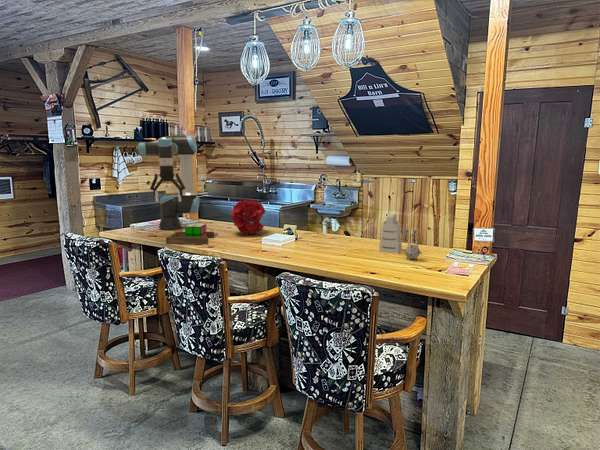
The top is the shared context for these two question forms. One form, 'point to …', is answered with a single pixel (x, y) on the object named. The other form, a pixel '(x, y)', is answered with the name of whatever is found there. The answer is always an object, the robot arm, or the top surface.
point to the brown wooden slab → (187, 238)
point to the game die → (412, 251)
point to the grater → (390, 235)
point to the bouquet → (248, 216)
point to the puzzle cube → (195, 230)
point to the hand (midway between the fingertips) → (168, 201)
